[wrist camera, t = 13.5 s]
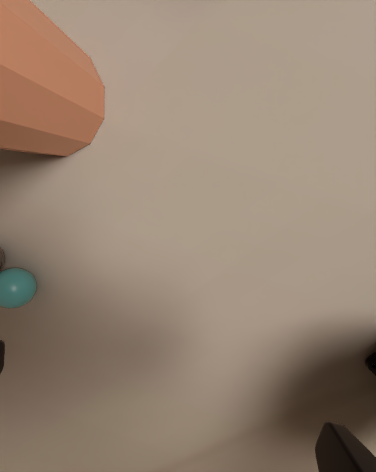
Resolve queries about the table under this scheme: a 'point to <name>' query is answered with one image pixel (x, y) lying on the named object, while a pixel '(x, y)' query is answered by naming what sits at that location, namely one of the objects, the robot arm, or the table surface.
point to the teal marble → (16, 287)
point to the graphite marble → (1, 258)
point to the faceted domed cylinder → (44, 85)
